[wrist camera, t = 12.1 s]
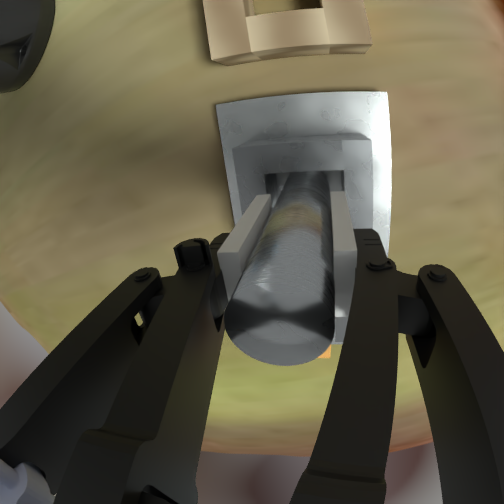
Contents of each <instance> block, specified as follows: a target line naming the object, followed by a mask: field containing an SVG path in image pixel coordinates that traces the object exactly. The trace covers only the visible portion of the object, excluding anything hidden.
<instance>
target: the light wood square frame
mask: <svg viewBox="0 0 504 504" xmlns="http://www.w3.org/2000/svg"><path fill="white" fill-rule="evenodd" d="M319 3H320V8H315V9H301V10H291V11H282V12H274V13H267V14H260V15H255V12H254V6H253V0H203V6H204V13H205V20H206V26H207V33H208V40H209V47H210V54H211V60H213V61H216V62H219V63H221V64H224V65H227V66H231V65H236V64H242V63H248V62H254V61H261V60H268V59H276V58H284V57H294V56H306V55H322V54H365V53H366V52H367V50H368V49H369V48H370V47H371V45H372V38H371V33H370V28H369V23H368V18H367V14H366V9H365V5H364V1H363V0H319Z"/></svg>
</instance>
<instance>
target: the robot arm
mask: <svg viewBox="0 0 504 504" xmlns="http://www.w3.org/2000/svg"><path fill="white" fill-rule="evenodd" d="M54 11H55V1H54V0H0V93H4V92H10V91H14V90H17V89H18V88H20V87H21V86H22V85H23V84H24V83H25V82H26V81H27V80H28V79H29V78H30V76H31V75H32V73H33V72H34V70H35V68H36V67H37V65H38V63H39V61H40V59H41V57H42V54H43V52H44V50H45V47H46V44H47V42H48V39H49V35H50V32H51V28H52V24H53V19H54ZM330 196H331V217H332V236H333V264H334V282H335V317H348V321H347V326H346V331H345V336H344V340H343V345H342V349H341V354H340V358H339V362H338V366H337V370H336V374H335V378H334V382H333V386H332V390H331V394H330V397H329V401H328V404H327V408H326V411H325V415H324V418H323V421H322V424H321V428H320V431H319V434H318V437H317V440H316V443H315V446H314V449H313V452H312V455H311V458H310V461H309V463H308V466H307V468H306V469H305V471H304V472H303V473H302V476H301V478H300V480H299V482H298V484H297V487H296V489H295V491H294V494H293V496H292V498H291V501H290V503H289V504H384V500H385V495H386V482H385V479H384V473H385V467H386V462H387V456H388V451H389V445H390V438H391V431H392V423H393V415H394V406H395V395H396V383H397V366H398V333H403V334H406V340H407V343H408V346H409V349H410V352H411V355H412V359H413V362H414V365H415V369H416V372H417V375H418V379H419V382H420V386H421V390H422V393H423V397H424V401H425V405H426V409H427V413H428V418H429V422H430V426H431V431H432V436H433V441H434V446H435V451H436V457H437V463H438V469H439V475H440V482H441V490H442V499H443V504H504V352H503V350H502V348H501V347H500V345H499V343H498V341H497V339H496V338H495V336H494V334H493V332H492V331H491V329H490V327H489V326H488V324H487V322H486V321H485V319H484V317H483V316H482V314H481V312H480V311H479V309H478V308H477V306H476V305H475V303H474V302H473V300H472V299H471V297H470V296H469V294H468V293H467V291H466V290H465V288H464V287H463V285H462V284H461V282H460V281H459V280H458V278H457V277H456V275H455V274H454V273H453V272H452V271H451V270H450V269H448V268H446V267H444V266H442V265H438V264H435V265H432V264H430V265H425V266H423V267H422V268H420V270H419V273H418V276H417V275H411V274H406V273H402V272H400V271H397V270H396V265H395V263H394V262H393V261H392V260H391V259H389V258H387V255H386V252H385V249H384V247H383V245H382V241H381V238H380V236H379V233H378V232H376V231H375V230H374V229H372V228H367V229H353V226H352V222H351V217H350V212H349V208H348V204H347V199H346V195H345V191H333V192H330ZM271 212H272V201H271V194H264V195H257V196H256V197H255V198H254V200H253V201H252V203H251V204H250V205H249V207H248V208H247V210H246V211H245V213H244V214H243V215H242V217H241V218H240V220H239V221H238V223H237V224H236V225H235V227H234V228H233V230H232V231H231V233H222V234H220V235H219V236H217V237H216V238H214V240H213V241H212V242H211V243H210V245H209V242H208V241H207V240H206V239H202V238H194V239H189V240H186V241H183V242H181V243H179V244H177V245H176V246H175V247H174V248H173V249H174V252H175V256H176V259H177V263H178V266H179V269H178V271H177V273H176V274H175V275H174V276H168V277H162V278H161V276H160V273H159V271H158V270H157V269H156V268H152V267H150V268H147V267H145V268H141V269H139V270H138V271H135V272H134V273H132V274H131V275H130V276H129V277H127V278H126V279H125V280H124V281H123V282H122V283H121V284H120V285H119V286H118V287H117V288H116V289H115V290H113V291H112V292H111V293H110V294H109V295H108V296H107V297H106V298H105V299H104V300H103V301H102V302H101V303H100V304H99V305H98V306H97V307H96V308H95V309H94V310H92V311H91V312H90V313H89V314H88V315H87V316H86V317H85V318H84V319H83V320H82V321H81V322H80V323H79V324H78V325H77V326H76V327H75V328H74V329H73V330H72V331H71V332H70V333H69V334H68V335H67V336H66V337H65V338H64V339H63V340H62V341H61V342H60V344H59V345H58V346H57V347H56V348H55V349H54V350H53V351H52V352H51V353H50V354H49V355H48V356H47V357H46V358H45V359H44V360H43V361H42V363H41V364H40V365H39V366H38V367H37V368H36V369H35V370H34V371H33V372H32V373H31V374H30V376H29V377H28V378H27V379H26V380H25V381H24V382H23V383H22V385H21V386H20V387H19V388H18V389H17V390H16V391H15V393H14V394H13V395H12V396H11V397H10V398H9V400H8V401H7V402H6V403H5V404H4V405H3V407H2V408H1V409H0V504H197V503H198V492H197V488H196V482H195V478H196V472H197V466H198V461H199V456H200V451H201V446H202V440H203V435H204V430H205V425H206V420H207V415H208V410H209V405H210V400H211V395H212V390H213V385H214V380H215V375H216V370H217V365H218V360H219V355H220V350H221V345H222V340H223V335H224V331H225V325H224V313H225V311H224V310H225V308H226V306H227V304H228V302H229V300H230V298H231V296H232V294H233V292H234V290H235V288H236V286H237V283H238V281H239V279H240V277H241V275H242V273H243V271H244V269H245V267H246V264H247V262H248V260H249V258H250V256H251V254H252V252H253V250H254V247H255V245H256V243H257V241H258V239H259V237H260V235H261V233H262V231H263V228H264V226H265V224H266V222H267V220H268V218H269V216H270V214H271ZM138 312H139V314H140V316H141V318H142V321H143V323H142V325H140V326H138V325H137V322H136V320H135V318H134V317H135V316H136V314H137V313H138ZM56 493H57V494H56ZM55 494H56V496H54V495H55Z"/></svg>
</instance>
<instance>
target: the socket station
mask: <svg viewBox="0 0 504 504" xmlns="http://www.w3.org/2000/svg"><path fill="white" fill-rule="evenodd" d="M216 110H217V117H218V123H219V130H220V136H221V142H222V148H223V155H224V161H225V167H226V173H227V179H228V185H229V191H230V197H231V203H232V209H233V215H234V221H235V225H236V224H237V223H238V221H239V220H240V218H241V217H242V215H243V214H244V213H245V211H246V210H247V208H248V207H249V205H250V204H251V203H252V201H253V200H254V198H255V197H256V196H257V195H264V194H271V201H272V209H273V207H274V205H275V203H276V201H277V199H278V197H279V195H280V193H281V190H282V188H283V186H284V184H285V182H286V180H287V178H288V176H289V175H290V174H291V173H292V172H302V171H320V172H321V173H323V174H324V175H325V177H326V178H327V180H328V182H329V186H330V192H333V191H345V195H346V199H347V204H348V208H349V212H350V217H351V222H352V226H353V229H367V228H372V229H374V230H375V231H376V232H378V233H379V236H380V238H381V241H382V245H383V247H384V249H385V252H386V255H387V258H388V248H389V234H390V216H391V140H390V122H389V109H388V98H387V92H321V93H304V94H292V95H281V96H272V97H264V98H256V99H249V100H242V101H235V102H229V103H223V104H218V105H216ZM347 321H348V317H335V333H334V338H333V341H332V343H331V344H343V340H344V336H345V331H346V326H347Z"/></svg>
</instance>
